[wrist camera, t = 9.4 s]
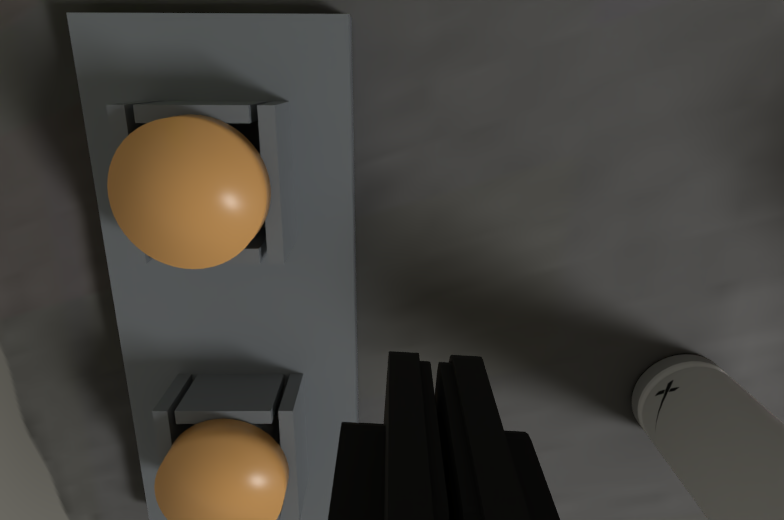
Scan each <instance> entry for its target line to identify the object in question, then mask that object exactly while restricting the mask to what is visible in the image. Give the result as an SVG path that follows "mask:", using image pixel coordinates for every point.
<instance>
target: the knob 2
mask: <svg viewBox="0 0 784 520" xmlns="http://www.w3.org/2000/svg"><path fill="white" fill-rule="evenodd" d="M279 437H280V430H279V420H278V418H277V416H276V414H275V415H274V418H273V421H272V424H249V423H247V422H243V421H240V420H234V419H212V420H207V421H203V422H200V423H198V424H195V425H193V426H191V427H190V428H188V429H186V430H185V431H184V432H183V433H181V434H180V435H179V436H178V438H177V439H176V440H175V441H174V443H173V445H172V446H171V448H170V450H169V451H168V453H167V455H166V456H165V458H164V460H163V462H162V463H161V465H160V467H159V469H158V471H157V474H156V478H155V485H154V489H155V496H156V501H157V503H158V506H159V508H160V510H161V511H162V513H163V514H164V516H165V517H166V518H167V520H276V519H277V518H278V516H279V514H280V512H281V509H282V505H283V501H284V497H285V493H286V489H287V485H288V479H289V467H288V462H287V459H286V456H285V454H284V452H283V450H282V449H281V447H280V446H279V444H278V440H279Z"/></svg>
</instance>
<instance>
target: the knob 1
mask: <svg viewBox="0 0 784 520" xmlns="http://www.w3.org/2000/svg"><path fill="white" fill-rule="evenodd" d="M107 189H108V198H109V202H110V207H111V209H112V212H113V215H114V217H115V219H116V221H117V223H118V225H119V227H120V228H121V230H122V231H123V233H124V234H125V235H126V236H127V237H128V239H129V240H130V241H131V242H132V243H133V244H134V245H135V246H136V247H137V248H138V249H140V250H141V251H142V252H144V253H145V254H146V255H148V256H150V257H152V258H153V259H155V260H157V261H159V262H162V263H164V264H167V265H170V266H173V267H178V268H183V269H204V268H209V267H214V266H217V265H220V264H223V263H225V262H227V261H229V260H231V259H232V258H234V257H235V256H237V255H238V254H239V253H240V252H241V251H242V250H243V249H245V247H246V246H247V245H248V244H249V243H250V241H251V240H252V239H253V238H254V237H255V235H256V234H257V233H258V232H259V230H260V229H261V227H262V225H263V224H264V222H265V219H266V217H267V214H268V211H269V207H270V200H271V186H270V179H269V175H268V172H267V169H266V166H265V164H264V161H263V159H262V158H261V156H260V154H259V152H258V151H257V149H256V148H255V147H254V145H253V144H252V143H251V142H250V141H249V140H248V139H247V138H246V137H245V136H244V135H243V134H242V133H241V132H239V131H238V130H237V129H235V128H234V127H232V126H231V125H229V124H227V123H225V122H223V121H221V120H218V119H215V118H212V117H208V116H203V115H194V114H187V115H178V116H173V117H168V118H163V119H158V120H154V121H152V122H149V123H146V124H144V125H142V126H141V127H139V128H137V129H136V130H134V131H133V132H132V133H130V134H129V135H128V136H127V137H126V138H125V139H124V140H123V141H122V143H121V144H120V146H119V147H118V148H117V150H116V152H115V154H114V156H113V158H112V161H111V164H110V167H109V172H108V181H107Z"/></svg>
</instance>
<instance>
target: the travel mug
mask: <svg viewBox="0 0 784 520" xmlns="http://www.w3.org/2000/svg"><path fill="white" fill-rule="evenodd" d="M631 401H632V410H633V414H634V416H635V418H636V420H637V422H638V423H639V424H640V426H641V427H642V429H643V430H644V431H645V433H646V434H647V435H648V437H649V438H650V440H651V441H652V442H653V444H654V445H655V446H656V448H657V449H658V451H659V452H660V453H661V455H662V456H663V458H664V459H665V460H666V462H667V463H668V464H669V466H670V467H671V469H672V470H673V471H674V473H675V474H676V476H677V477H678V478H679V480H680V481H681V482H682V484H683V485H684V487H685V488H686V489H687V491H688V492H689V493H690V495H691V496H692V498H693V499H694V500H695V502H696V503H697V505H698V506H699V507H700V509H701V510H702V511H703V513H704V514H705V516H706V517H707V518H708V520H784V424H783V423H782V422H781V421H780V420H779V419H778V418H777V417H775V416H774V415H773V414H772V413H771V412H770V411H769V410H768V409H766V408H765V407H764V406H763V405H762V404H761V403H760V402H758V401H757V400H756V399H755V398H754V397H753V396H752V395H750V394H749V393H748V392H747V391H746V390H745V389H744V388H742V387H741V386H740V385H739V384H738V383H737V382H736V381H735V380H733V379H732V378H731V377H730V376H728V375H727V373H725V372H724V371H723V370H722V369H721V368H720V367H719V366H717V365H716V364H715V363H713V362H712V361H711V360H709V359H707V358H704V357H702V356H698V355H693V354H682V355H675V356H671V357H668V358H665V359H663V360H661V361H659V362H657V363H655V364H654V365H652V366H651V367H650V368H648V369H647V370H646V371H645V372H644V373H643V374H642V375H641V377H640V378H639V380H638V382H637V383H636V385H635V388H634V390H633V394H632V400H631Z"/></svg>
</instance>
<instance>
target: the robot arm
mask: <svg viewBox="0 0 784 520" xmlns="http://www.w3.org/2000/svg"><path fill="white" fill-rule="evenodd" d="M328 520H560V518H559V516H558V513H557V510H556V507H555V505H554V502H553V499H552V496H551V493H550V491H549V488H548V485H547V482H546V480H545V477H544V474H543V471H542V469H541V466H540V463H539V460H538V458H537V455H536V452H535V449H534V447H533V444H532V441H531V439H530V437H529V435H528V434H527V433H526V432H519V431H504V429H503V426H502V423H501V419H500V416H499V413H498V409H497V406H496V403H495V399H494V396H493V393H492V389H491V386H490V382H489V379H488V376H487V372H486V369H485V366H484V362H483V359H482V357H478V356H461V355H451V356H450V359H449V363H445V362H439V364H438V370H437V379H436V389H435V395H434V387H433V379H432V371H431V364H430V362H428V361H420V359H419V353H409V352H392V351H389V356H388V370H387V384H386V398H385V412H384V424H373V423H355V422H342V423H341V429H340V436H339V443H338V450H337V458H336V465H335V472H334V479H333V486H332V493H331V500H330V507H329V515H328Z"/></svg>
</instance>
